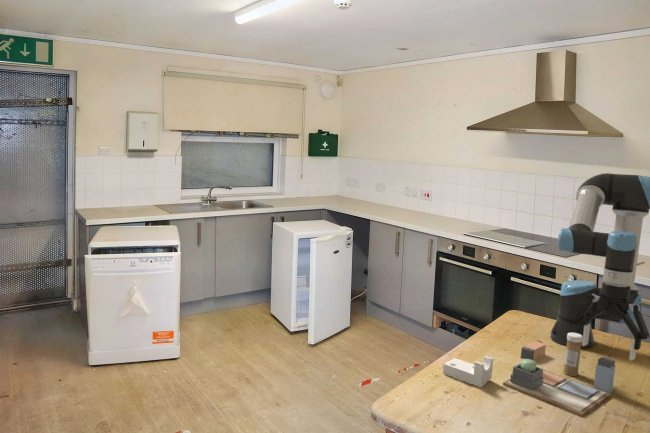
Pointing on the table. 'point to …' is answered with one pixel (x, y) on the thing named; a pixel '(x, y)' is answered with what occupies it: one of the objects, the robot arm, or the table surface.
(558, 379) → the wood rimmed sorting board
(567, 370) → the sprinkles bottle
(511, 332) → the table surface
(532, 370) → the button
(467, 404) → the table surface
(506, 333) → the table surface
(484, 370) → the bracket
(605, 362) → the grey square prism
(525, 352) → the terracotta marker
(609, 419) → the table surface
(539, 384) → the button housing
